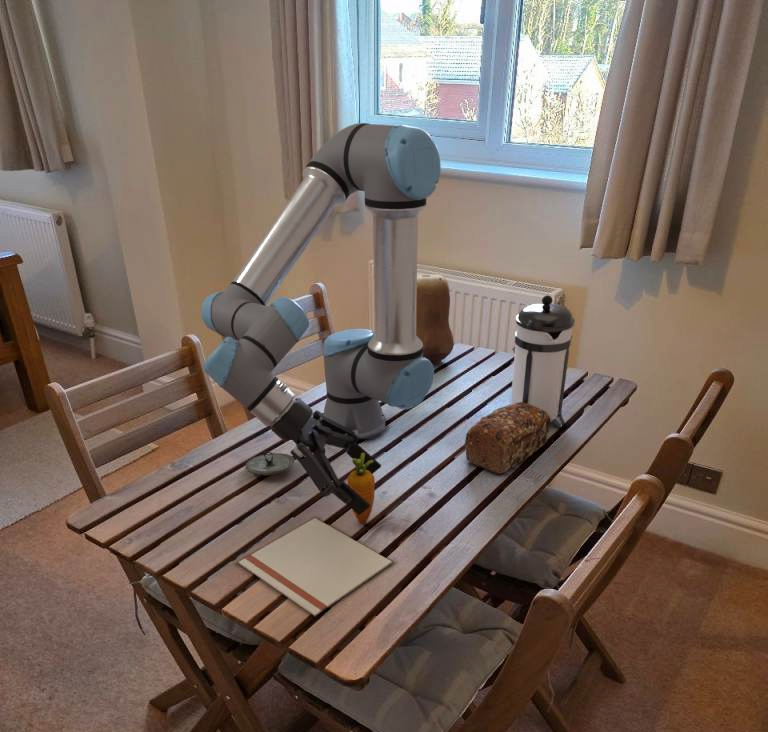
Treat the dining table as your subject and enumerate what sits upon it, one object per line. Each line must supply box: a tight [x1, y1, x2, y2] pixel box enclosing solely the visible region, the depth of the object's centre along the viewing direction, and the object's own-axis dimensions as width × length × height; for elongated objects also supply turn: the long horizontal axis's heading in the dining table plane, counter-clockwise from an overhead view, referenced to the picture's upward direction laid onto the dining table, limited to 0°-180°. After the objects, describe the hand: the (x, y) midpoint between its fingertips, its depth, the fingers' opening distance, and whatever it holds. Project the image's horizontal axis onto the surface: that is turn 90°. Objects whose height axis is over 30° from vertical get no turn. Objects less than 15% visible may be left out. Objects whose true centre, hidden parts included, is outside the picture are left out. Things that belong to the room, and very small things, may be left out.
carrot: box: [346, 453, 376, 526], centre depth 127 cm, size 5×5×15 cm
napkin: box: [238, 517, 393, 617], centre depth 121 cm, size 20×18×1 cm
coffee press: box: [509, 295, 576, 428], centre depth 160 cm, size 17×16×30 cm
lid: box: [245, 450, 296, 476], centre depth 147 cm, size 11×10×5 cm
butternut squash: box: [416, 273, 454, 366], centre depth 191 cm, size 14×13×25 cm
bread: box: [464, 402, 552, 474], centre depth 150 cm, size 19×11×10 cm, turn 137°
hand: (370, 489), depth 126 cm, fingers open, 13 cm apart
